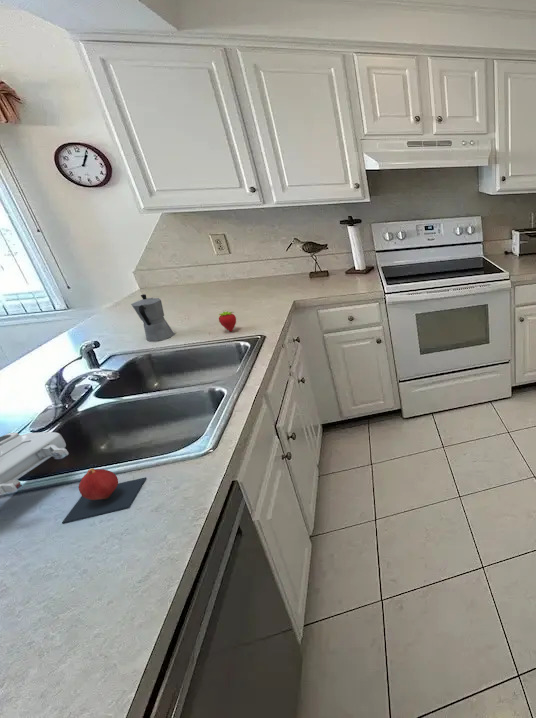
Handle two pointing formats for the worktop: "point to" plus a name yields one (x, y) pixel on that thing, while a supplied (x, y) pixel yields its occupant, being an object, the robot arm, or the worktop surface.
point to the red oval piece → (98, 484)
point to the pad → (106, 502)
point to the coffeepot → (153, 318)
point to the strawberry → (227, 320)
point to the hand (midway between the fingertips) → (42, 469)
